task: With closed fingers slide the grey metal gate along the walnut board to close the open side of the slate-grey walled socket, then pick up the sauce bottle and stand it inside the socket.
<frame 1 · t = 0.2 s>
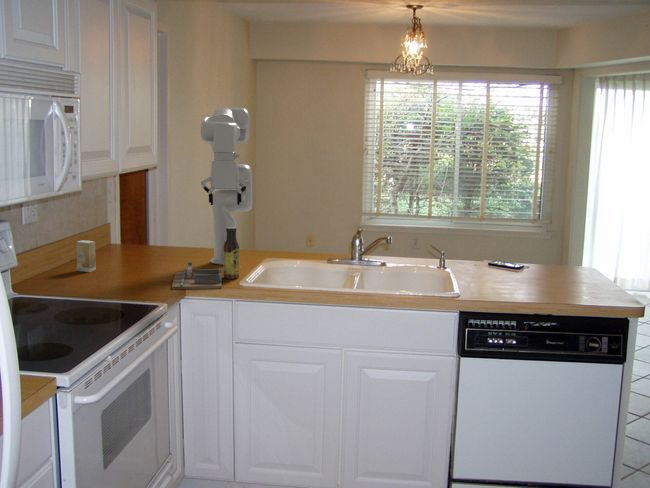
hand: (225, 204, 249), 31 cm above the worktop, tool pointing down, fingers open, 9 cm apart
sauce bottle: (231, 278, 269), on the worktop
board: (197, 281, 262), on the worktop
skincare box: (86, 271, 278), on the worktop
gate: (189, 269, 267), point 3 cm above the worktop, slide at 0.0 cm
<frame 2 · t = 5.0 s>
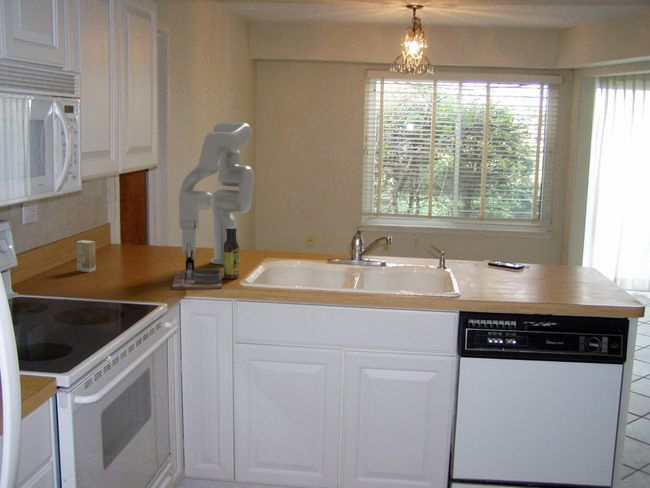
hand: (190, 269, 273), 2 cm above the worktop, tool pointing down, fingers closed
gate: (189, 270, 265), point 3 cm above the worktop, slide at 1.4 cm, touching gripper
everything else where it was.
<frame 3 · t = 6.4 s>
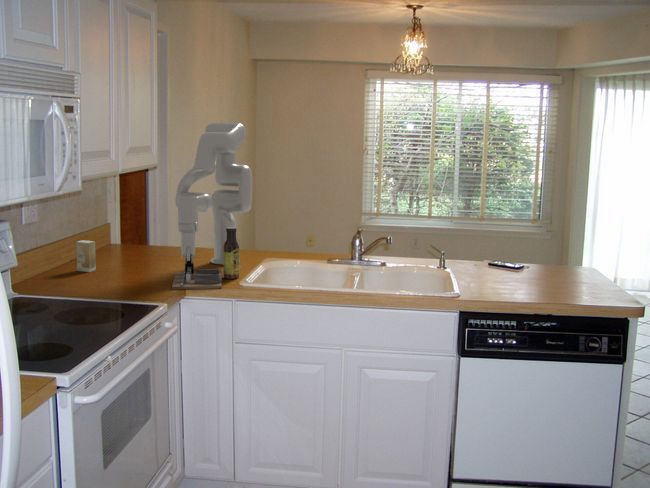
hand: (189, 273, 266), 2 cm above the worktop, tool pointing down, fingers closed
gate: (188, 274, 259), point 3 cm above the worktop, slide at 8.2 cm, touching gripper
everything else where it was.
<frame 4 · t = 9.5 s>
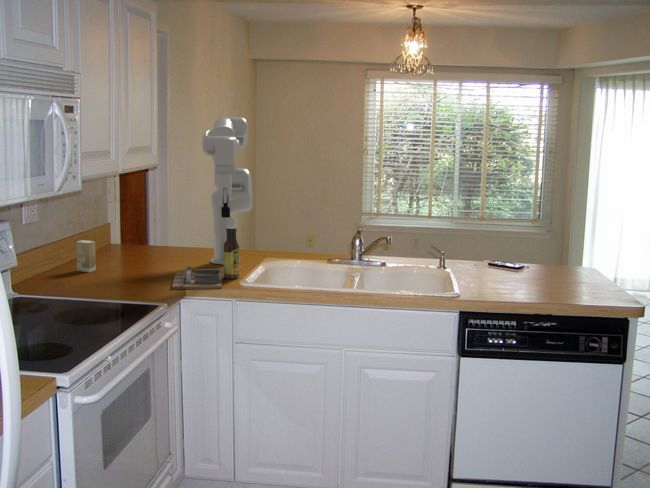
hand: (225, 217, 265), 24 cm above the worktop, tool pointing down, fingers closed
gate: (188, 274, 259), point 3 cm above the worktop, slide at 8.0 cm
everything else where it was.
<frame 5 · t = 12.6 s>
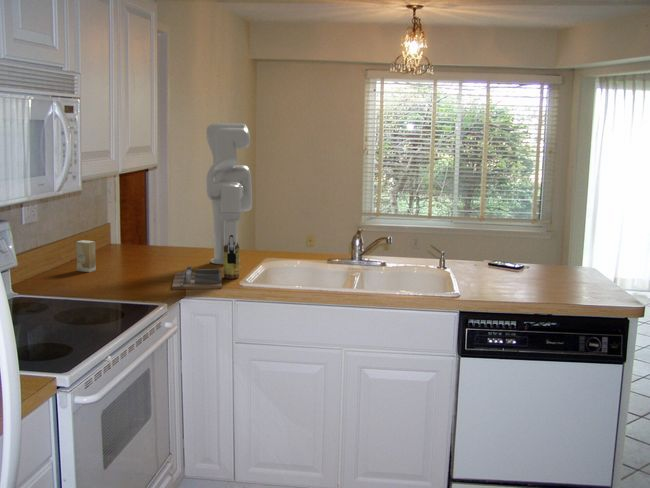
hand: (231, 261, 268), 7 cm above the worktop, tool pointing down, fingers closed on sauce bottle, 6 cm apart
sauce bottle: (231, 278, 269), on the worktop, touching gripper
everything else where it was.
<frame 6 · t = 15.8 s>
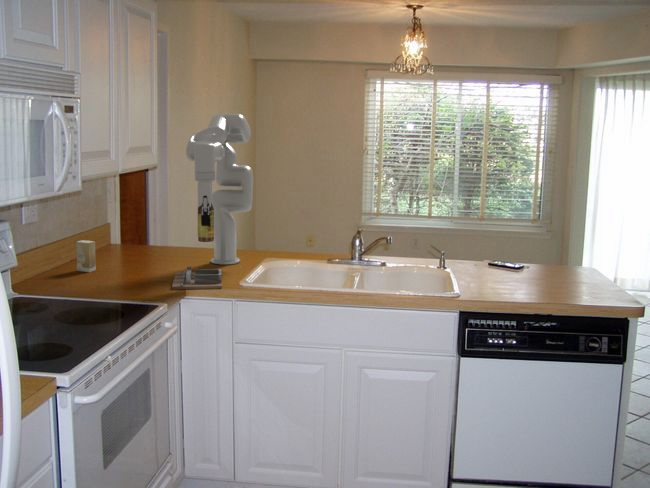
hand: (205, 223, 257), 23 cm above the worktop, tool pointing down, fingers closed on sauce bottle, 6 cm apart
sauce bottle: (206, 241, 258), point 16 cm above the worktop, touching gripper
everything else where it was.
when the fingers open (8 cm above the worktop, at t = 18.8 s): sauce bottle stays where it is, resting on board.
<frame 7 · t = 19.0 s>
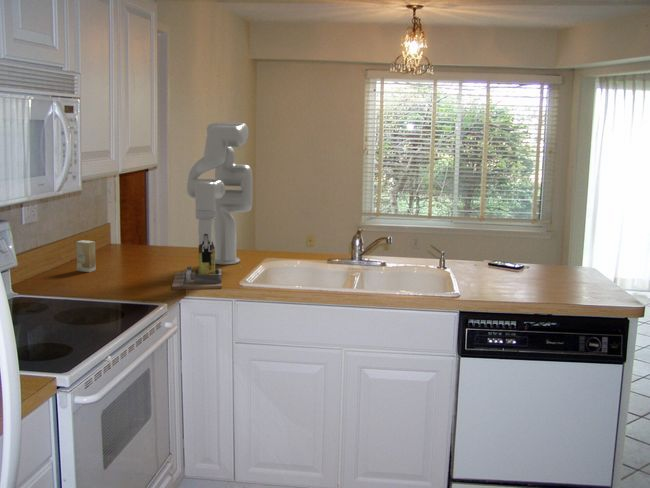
hand: (206, 259, 259), 9 cm above the worktop, tool pointing down, fingers open, 8 cm apart
sauce bottle: (207, 279, 261), point 1 cm above the worktop, touching board
everything else where it was.
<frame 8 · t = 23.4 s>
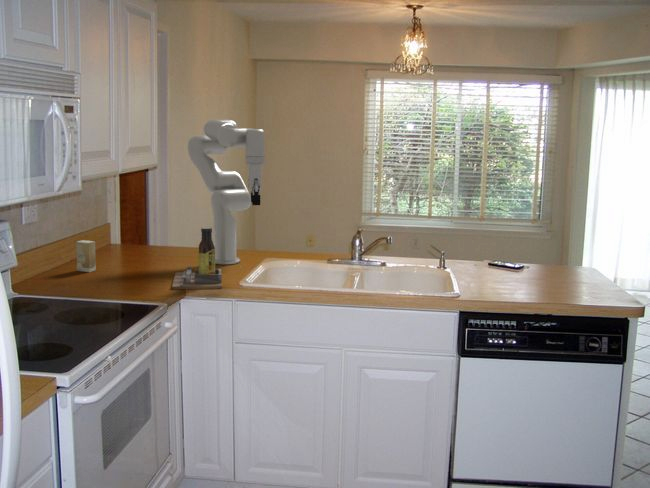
hand: (255, 203, 273), 28 cm above the worktop, tool pointing down, fingers open, 9 cm apart
nothing on the worktop moved.
at the end: gate slide at 8.0 cm; sauce bottle inside the target area (0.3 cm from its centre), point 0.9 cm above the worktop; sauce bottle tilted 0° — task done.
